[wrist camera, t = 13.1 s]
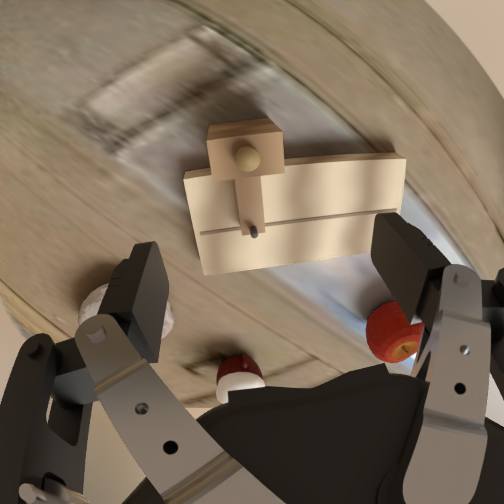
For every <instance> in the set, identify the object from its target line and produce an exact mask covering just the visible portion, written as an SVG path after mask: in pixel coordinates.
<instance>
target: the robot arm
mask: <svg viewBox="0 0 504 504" xmlns="http://www.w3.org/2000/svg"><path fill="white" fill-rule="evenodd" d="M371 259H372V262H373V264H374V266H375V268H376V269H377V271H378V272H379V274H380V276H381V277H382V279H383V280H384V282H385V283H386V285H387V287H388V288H389V290H390V292H391V293H392V295H393V296H394V298H395V300H396V301H397V303H398V305H399V306H400V308H401V310H402V311H403V313H404V315H405V316H406V318H407V320H408V322H409V323H410V325H412V324H416V323H419V322H423V324H424V327H423V330H422V333H421V337H420V341H419V346H418V350H417V354H416V358H415V362H414V365H413V369H412V372H411V375H410V376H409V375H403V374H394V373H389V372H388V370H387V367H386V365H385V363H382V364H378V365H375V366H371V367H367V368H362V369H358V370H354V371H349V372H347V373H345V374H343V375H341V376H339V377H337V378H335V379H332V380H330V381H328V382H326V383H324V384H321V385H319V386H317V387H314V388H287V387H272V386H266V387H258V388H250V389H241V390H232V391H228V402H227V403H224V404H221V405H219V406H217V407H215V408H212V409H211V410H209V411H207V412H206V413H204V414H203V415H201V416H200V417H199V418H197V419H196V420H195V419H194V418H193V417H192V416H191V414H190V413H189V412H188V411H187V410H186V409H185V408H184V406H183V405H182V404H181V403H180V402H179V401H178V399H177V398H176V397H175V396H174V395H173V393H172V392H171V391H170V390H169V389H168V387H167V386H166V385H165V384H164V382H163V381H162V380H161V379H160V377H159V376H158V375H157V374H156V372H155V371H154V370H153V368H152V367H151V366H150V365H149V363H158V358H159V351H160V344H161V337H162V331H163V324H164V318H165V312H166V306H167V300H168V294H169V282H168V277H167V273H166V270H165V267H164V264H163V261H162V257H161V254H160V251H159V247H158V245H157V243H156V242H155V241H152V242H145V243H139V244H135V245H134V247H133V250H132V252H131V255H130V257H129V259H124V260H123V261H122V262H121V263H120V264H119V265H118V266H117V267H116V268H115V270H114V272H113V274H112V277H111V280H110V282H109V284H108V288H107V289H106V292H105V294H104V297H103V299H102V302H101V304H100V307H99V310H98V312H97V315H95V316H92V317H90V318H88V319H87V320H85V321H84V322H83V323H82V324H81V325H80V326H79V327H78V329H77V331H76V333H75V337H74V338H71V339H68V340H65V341H62V342H59V343H56V344H55V343H54V341H53V340H52V339H51V337H50V336H49V335H47V334H44V333H40V334H36V335H34V336H32V337H30V338H29V339H28V340H26V341H25V342H24V344H23V345H22V347H21V348H20V351H19V353H18V356H17V358H16V360H15V363H14V366H13V368H12V371H11V374H10V377H9V380H8V383H7V386H6V389H5V391H4V395H3V398H2V401H1V404H0V504H90V503H89V501H88V500H87V499H86V498H85V497H84V496H83V483H84V470H85V458H86V449H87V440H88V431H89V424H90V417H91V410H92V404H93V402H94V401H98V400H99V401H100V403H101V404H102V406H103V408H104V410H105V412H106V414H107V415H108V417H109V419H110V421H111V422H112V424H113V426H114V427H115V429H116V431H117V432H118V434H119V436H120V437H121V439H122V441H123V442H124V444H125V445H126V447H127V448H128V450H129V452H130V453H131V455H132V456H133V457H134V459H135V460H136V462H137V463H138V465H139V466H140V468H141V469H142V471H143V472H144V474H145V475H146V477H145V479H144V480H143V481H142V482H141V483H140V484H139V485H138V486H137V487H136V489H135V490H134V491H133V492H132V493H131V494H130V495H129V496H128V497H127V499H125V501H124V502H123V503H122V504H504V427H503V426H501V425H499V424H497V423H495V422H494V421H492V420H490V419H489V418H487V417H485V413H486V405H487V396H488V385H489V373H491V375H492V377H493V379H494V381H495V383H496V385H497V387H498V389H499V391H500V393H501V395H502V397H503V400H504V268H502V269H500V270H499V272H498V274H497V276H496V279H495V281H494V280H480V278H479V276H478V275H477V273H476V272H474V271H473V270H472V269H470V268H468V267H466V266H463V265H459V264H451V263H450V262H449V261H448V259H447V258H446V257H445V256H444V255H443V254H442V253H441V252H440V251H439V249H438V248H437V247H436V246H435V245H433V243H432V242H431V241H430V240H429V239H427V237H426V236H425V234H424V233H423V232H422V231H421V230H420V229H418V228H416V227H415V226H413V225H411V224H409V223H407V222H406V221H405V220H404V219H403V218H402V217H401V216H400V215H399V214H398V213H397V212H388V213H378V214H376V216H375V219H374V227H373V235H372V243H371ZM50 397H51V398H52V399H53V402H52V406H51V410H50V415H49V420H48V424H47V421H46V412H47V408H48V404H49V399H50Z"/></svg>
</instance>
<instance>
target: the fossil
mask: <svg viewBox="0 0 504 504" xmlns="http://www.w3.org/2000/svg"><path fill="white" fill-rule="evenodd" d="M108 284H109V283H107V284H105V285H102V286H100V287H98V288H97V289H96V290H94V291H92V292H91V293H90V294H89V296H88V297H87V298H86V299H85V300H84V301H83V303H82V305H81V308H80V312H79V317H78V322H79V326H80V325H81V324H82V323H83V322H84V321H85V320H87V319H88V318H90V317H92V316H95V315H97V312H98V310H99V307H100V304H101V302H102V299H103V297H104V294H105V292H106V289H107V288H108ZM174 321H175V317H174V314H173V312H172V310H171V309H170V303H169V301H168V300H167V306H166V312H165V318H164V324H163V331H162V337H161V339H162V338H164V337H165V336H166V335H167V334H168V333H169V332H170V331H171V329H172V328H173V325H174Z"/></svg>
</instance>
